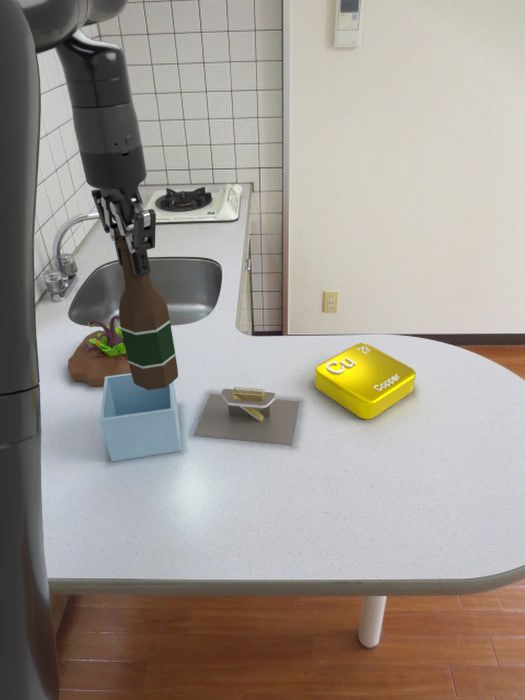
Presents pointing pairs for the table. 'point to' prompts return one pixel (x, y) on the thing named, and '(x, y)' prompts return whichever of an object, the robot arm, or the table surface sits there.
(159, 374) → the beer bottle
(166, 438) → the case
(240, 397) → the platform
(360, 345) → the element tile
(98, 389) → the table surface
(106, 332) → the plant
